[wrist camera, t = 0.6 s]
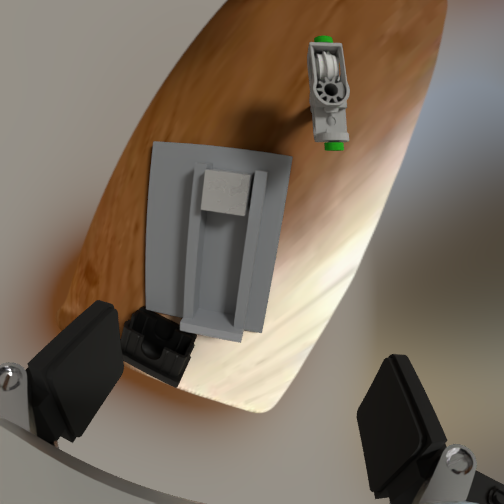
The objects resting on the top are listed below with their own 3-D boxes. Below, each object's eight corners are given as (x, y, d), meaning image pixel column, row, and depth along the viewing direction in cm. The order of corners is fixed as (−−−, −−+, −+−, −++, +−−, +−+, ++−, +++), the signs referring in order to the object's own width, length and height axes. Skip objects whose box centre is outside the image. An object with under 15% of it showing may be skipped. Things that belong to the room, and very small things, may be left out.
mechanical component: (307, 153, 31) (318, 149, 21) (300, 68, 28) (307, 34, 18) (333, 153, 31) (354, 150, 21) (326, 68, 28) (342, 35, 18)
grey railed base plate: (157, 141, 32) (137, 139, 27) (292, 156, 31) (294, 155, 26) (149, 305, 39) (133, 323, 34) (262, 328, 38) (259, 351, 33)
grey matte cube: (214, 168, 31) (205, 169, 27) (254, 173, 31) (250, 175, 27) (210, 203, 32) (200, 209, 29) (248, 209, 32) (244, 216, 28)
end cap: (129, 337, 41) (109, 362, 35) (139, 303, 39) (117, 326, 33) (186, 366, 42) (173, 396, 35) (201, 334, 40) (188, 364, 33)
